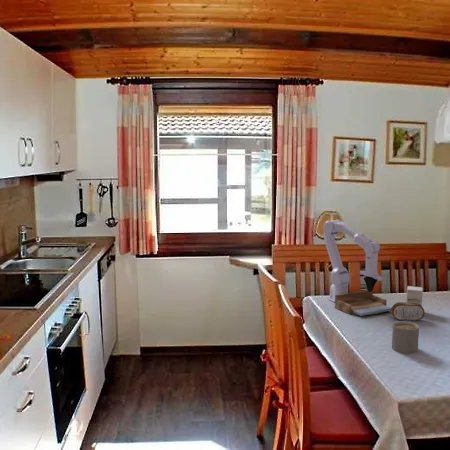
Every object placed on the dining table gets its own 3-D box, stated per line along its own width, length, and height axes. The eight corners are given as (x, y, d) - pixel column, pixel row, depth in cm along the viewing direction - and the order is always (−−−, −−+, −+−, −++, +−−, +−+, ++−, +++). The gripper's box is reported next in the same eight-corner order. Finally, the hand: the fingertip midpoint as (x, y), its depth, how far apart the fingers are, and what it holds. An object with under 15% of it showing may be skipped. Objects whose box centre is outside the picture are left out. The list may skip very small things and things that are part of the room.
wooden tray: (334, 308, 257) (335, 294, 256) (370, 302, 267) (371, 289, 266) (349, 314, 247) (349, 300, 246) (386, 308, 257) (386, 295, 256)
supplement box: (405, 314, 247) (406, 289, 246) (406, 309, 254) (407, 285, 252) (421, 315, 245) (422, 290, 243) (421, 311, 252) (422, 287, 250)
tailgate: (352, 310, 247) (361, 313, 242) (384, 305, 255) (392, 308, 250) (352, 313, 247) (360, 316, 242) (384, 308, 256) (392, 311, 250)
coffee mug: (420, 354, 198) (422, 329, 196) (395, 353, 199) (396, 329, 197) (411, 341, 211) (412, 318, 210) (387, 340, 212) (388, 318, 211)
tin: (422, 319, 239) (423, 302, 238) (424, 321, 236) (425, 304, 235) (390, 318, 241) (391, 301, 240) (392, 320, 238) (392, 303, 237)
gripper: (387, 267, 247) (386, 294, 249) (368, 261, 260) (366, 287, 262) (376, 268, 244) (375, 295, 246) (357, 262, 258) (356, 288, 260)
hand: (370, 291), depth 254 cm, fingers closed
